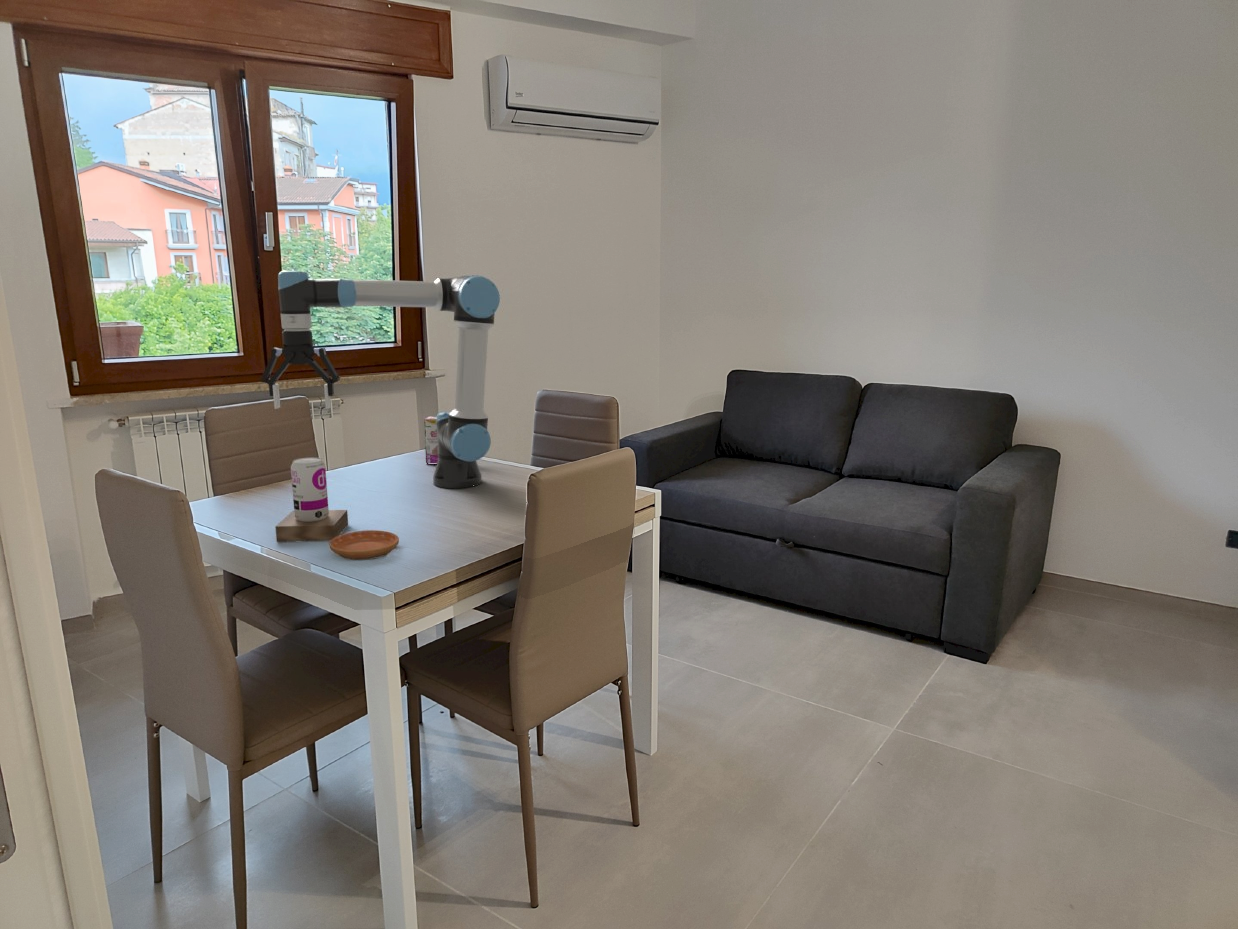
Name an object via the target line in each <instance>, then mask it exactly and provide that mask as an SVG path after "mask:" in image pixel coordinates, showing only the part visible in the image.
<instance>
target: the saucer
mask: <svg viewBox="0 0 1238 929" xmlns="http://www.w3.org/2000/svg"><path fill="white" fill-rule="evenodd" d="M328 542H329V543H328V545H329V549H330V550H331V551H332V552H333V553H334V554H335V555H337V556H339V557H340V558H342V559H346V560H353V561H354V560H369V559H370V560H371V558H372V559H377V558H380V557H384V556H386V555H389V554H390V553H392V552H393V550H394V549H396V547H398V546H399V543H400V536H398V535H397V534H395V533H394V532H390V531H385V530H373V529H371V530H370V529H369V530H368V529H366V530H356V531H355V530H354V531H350V532H345V533H341V534H340V535H339V536H337V537H335V538H333V539H332V540H331V541H328Z"/></svg>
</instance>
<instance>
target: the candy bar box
mask: <svg viewBox="0 0 1238 929" xmlns="http://www.w3.org/2000/svg"><path fill="white" fill-rule="evenodd" d="M436 421H437V416H426V417H425V418H424V423H423V424H424V443H425V444H424V446H425V447H424V450H425V464H426V463H437V462H438V444H437V425H436Z"/></svg>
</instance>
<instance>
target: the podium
mask: <svg viewBox="0 0 1238 929" xmlns="http://www.w3.org/2000/svg"><path fill="white" fill-rule="evenodd" d="M348 517H349V515H348V509H329V515H328V516H327V517H326V518H325V519H322V520H319V521H313V522H303V521H299V520H297V518H295V514H294V510H291V512H290V513H289V514H287V515H286V516H285V517H284V518H283V519H282V520H281V521H279V523H277V524H276V525H275V527H274V528H275V538H276V542H277V543H287V541H290V542H289V543H291V542H292V543H295V542H296V541H302V542H330V541H331V540H332V539H333V538H335V537H337V536H339V535H342V534H343V532H344V531H345V529H347V526H348V525H349V520H348V519H349V518H348ZM296 543H297V542H296Z"/></svg>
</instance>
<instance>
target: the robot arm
mask: <svg viewBox="0 0 1238 929" xmlns="http://www.w3.org/2000/svg"><path fill="white" fill-rule="evenodd" d="M277 282H278V283H277V286H278V297H279V298H278V299H279V310H280V320H281V329H282V332H281V333H282V334H281V335H282V348H279V347H272V348H271V349H270V357H269V359H268V362H267V365H266V367H265V369H264V371H263V374H262V377H261V378H260V381H261V382H262V383H265V384H268V389H269V396H270V397H273V406H274V408H273V409H274V410H278V409H281V399H280V398H281V395H280V386H279V383H276V382H277V381H278V380H279V379H280V377H282V375H283V373H284V372H285V371H286V370H287V369H288V367H289V366H291V365H292V366H293V365H294V366H296V365H300V366H302V365H303V366H304V365H308V366H310V368H312V369H313V371H315V372H316V373H317V375H318V376H319V377H320V378H321V379H322V380H323V381H324V382H325V383H326V384H323V388H324V389H323V390H324V391H323V392H324V402H325V404H324V405H325V409H327V410H329V409H330V408H331V407H332V400H331V397H333V396H334V395H335V392H334V391H335V390H334V389H335V388H334V384H335V383H338V382H340V381H341V378H340V376H339V374H338V373H337V371H336V369H335V368H334V366H333V364H332V362H331V360H330V359H329V357H328V354H327V351H326V348H325V347H319V348H315V347H314V342H313V340H314V339H313V331H312V330H310V329H312V317H311V316H312V315H311V308H352V307H389V308H390V307H391V308H392V307H396V308H397V307H400V308H404V307H405V308H434V309H436V311H437V312H438V311H439V312H450V313H453V322H454V323H455V325H456V326H457V328H458V332H457V334H458V336H457V350H456V352H457V353H456V372H455V387H454V388H455V390H454V391H455V392H454V404H453V405H454V407H453V409H452V410H451V411H445V412H438V413H437V415H436V417H437V421H436V425H437V444H438V462H437V465H435V470H434V472H433V473H434V474H433V477H432V478H433V480H432V482H433V485H434V486H436V487H439V488H445V489H464V488H470V487H469V486H472V487H474V486H473V485H476V486H478V485H480V484H481V483H482V482H481V481H482V480H483V478H482V473H481V470H480V468H479V465H478V464H479V463H478V462H477V461H479V460H480V459H482V458H483V457H485V456H486V455H487V454H488V452H489V450H490V448H491V443H492V440H491V438H492V437H491V435H490V432H489V431H488V422H489V415H488V414H487V413H486V412H485V411H484V406H485V405H484V404H485V392H486V391H485V390H486V389H485V387H486V374H487V358H488V355H487V354H488V342H489V341H488V339H489V330H490V329H491V328H492V327H493V326H494V324H495V313H496V312H497V310H498V308H499V306H500V302H501V301H500V300H501V297H500V296H501V295H500V292H499V289H498V287H497V285H496V284H495V283H494V282H493V281H492V280H491V279H489V278H487V277H485V276H482V275H479V274H478V275H463V276H457V277H447V278H444V277H443V278H442V277H441V278H440V277H439V278H436V279H435V280H433V281H427V280H426V281H425V280H424V281H423V280H422V281H420V280H418V281H417V280H392V279H391V280H390V279H389V280H385V279H383V280H382V279H349V278H328V277H327V278H326V277H325V278H309V275H308V272H307V271H305V270H304V271H303V270H302V271H301V270H300V271H299V270H298V271H297V270H281V271H279V273H278V275H277ZM281 354H282V355H283V356H284V360H283V362H282V363H281V364H280V366H279V367H278V369H276V370H275V372H274V374H273V375H272V376H271V374H272V373H273V370H274V368H275V365H276V363H277V360H278V359H279V357H280V356H281ZM315 354H316V355H317V357H319V358H320V360H321V363H322V364H323V365H324V367H325V369H326V370H327V372H326V371H325V370H324V369H323V368H322V367H321V365H320V364H318V362H317V361H316V360H315V358H313V357H314V356H315ZM480 482H481V483H480ZM479 483H480V484H479ZM477 484H478V485H477Z"/></svg>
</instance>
